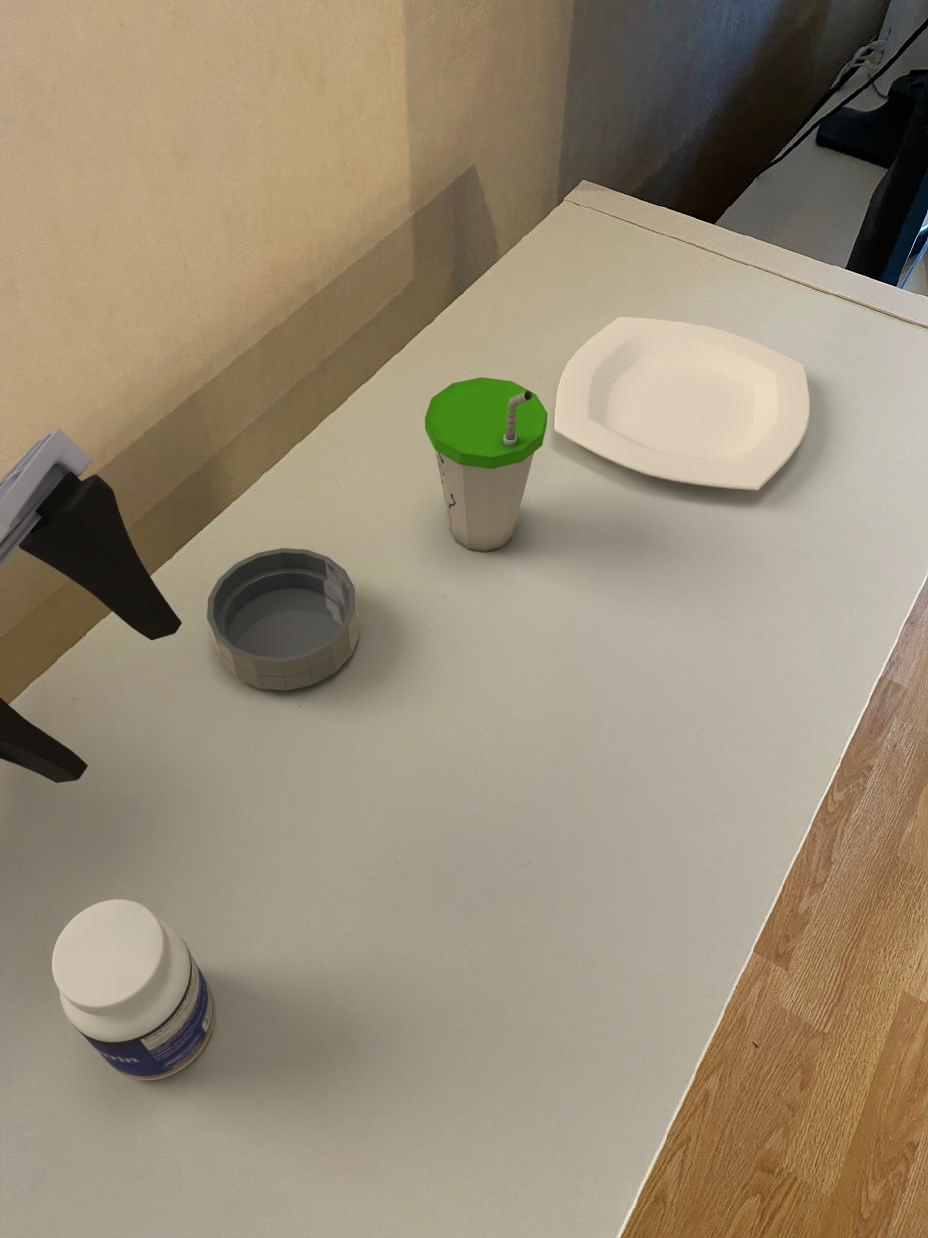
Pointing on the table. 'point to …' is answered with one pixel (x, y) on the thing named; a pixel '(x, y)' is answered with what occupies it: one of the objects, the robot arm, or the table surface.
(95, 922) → the pill bottle
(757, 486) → the plate
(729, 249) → the table surface
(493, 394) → the cup
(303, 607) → the bowl
